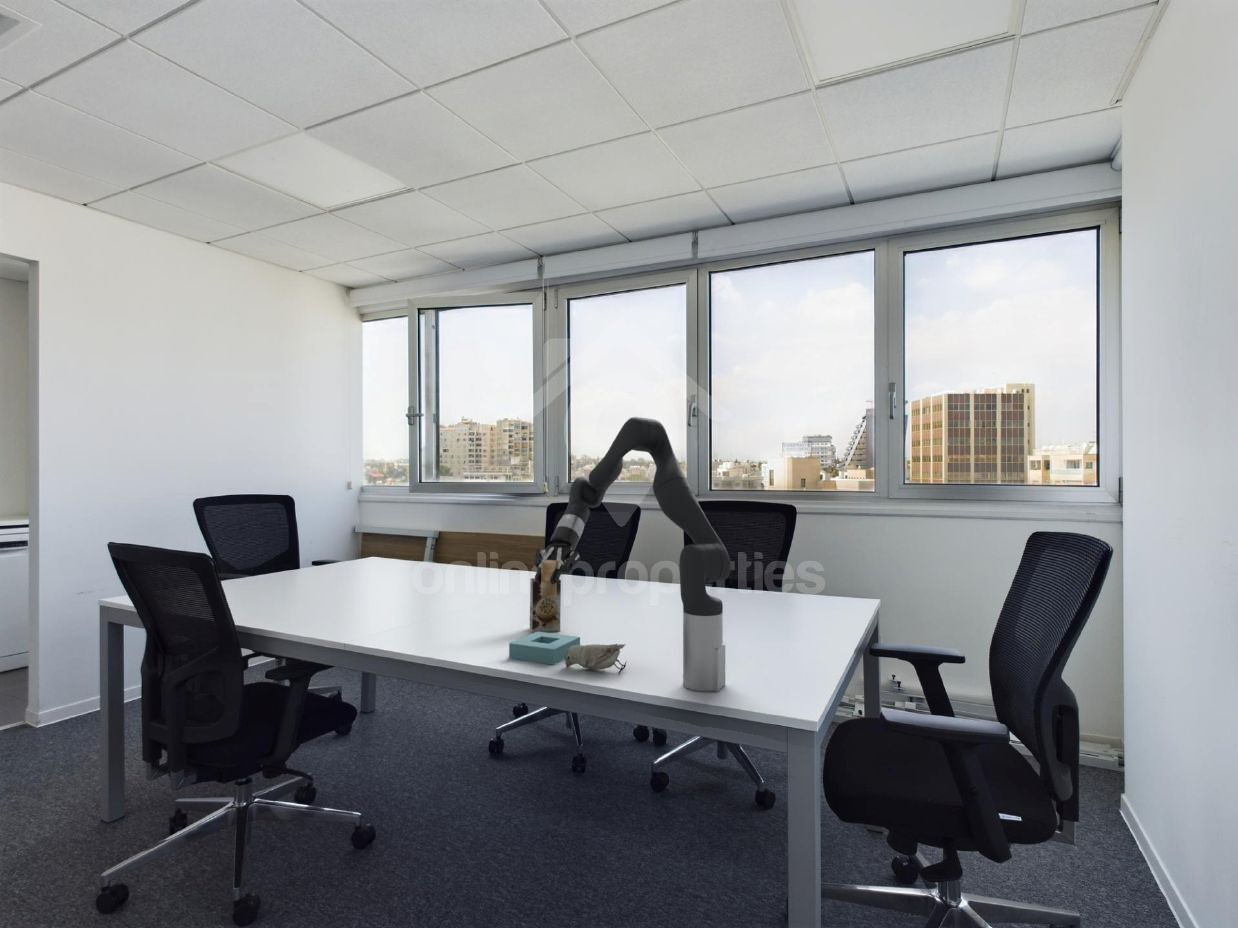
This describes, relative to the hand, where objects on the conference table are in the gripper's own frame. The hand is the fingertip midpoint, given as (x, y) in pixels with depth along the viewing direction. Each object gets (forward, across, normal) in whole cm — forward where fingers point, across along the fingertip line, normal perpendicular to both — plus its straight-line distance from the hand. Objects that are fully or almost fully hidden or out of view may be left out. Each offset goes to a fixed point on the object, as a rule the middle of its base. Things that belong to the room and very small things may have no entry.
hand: (545, 581), depth 177 cm
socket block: (+14, 0, +15) cm, 20 cm away
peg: (+2, 0, +5) cm, 5 cm away
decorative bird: (+18, +18, +11) cm, 28 cm away
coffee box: (-3, -16, +32) cm, 36 cm away
